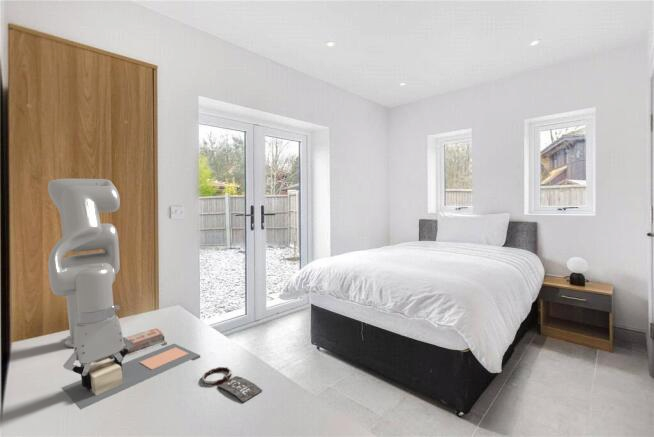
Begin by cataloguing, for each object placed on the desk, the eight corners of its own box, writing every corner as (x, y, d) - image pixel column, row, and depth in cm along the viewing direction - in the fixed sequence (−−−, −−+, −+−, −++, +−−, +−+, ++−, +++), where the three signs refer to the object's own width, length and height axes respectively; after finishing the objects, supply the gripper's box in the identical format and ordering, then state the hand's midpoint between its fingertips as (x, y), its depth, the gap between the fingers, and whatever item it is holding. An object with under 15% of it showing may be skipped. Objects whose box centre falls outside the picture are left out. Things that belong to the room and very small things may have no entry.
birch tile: (84, 384, 84) (82, 367, 84) (110, 373, 89) (108, 358, 88) (96, 395, 78) (94, 377, 78) (122, 383, 83) (121, 366, 83)
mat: (61, 389, 83) (61, 386, 83) (174, 345, 107) (174, 342, 107) (81, 411, 73) (80, 408, 73) (200, 357, 97) (200, 354, 97)
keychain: (238, 408, 72) (237, 400, 72) (196, 381, 84) (195, 374, 84) (264, 391, 78) (264, 383, 78) (222, 368, 90) (221, 362, 90)
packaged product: (156, 325, 114) (166, 331, 108) (157, 338, 115) (167, 345, 108) (96, 342, 101) (103, 351, 94) (97, 357, 102) (104, 367, 95)
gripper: (127, 303, 92) (132, 363, 93) (50, 323, 78) (57, 393, 79) (138, 307, 87) (144, 370, 88) (59, 329, 73) (66, 404, 74)
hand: (103, 381), depth 83 cm, fingers closed on birch tile, 6 cm apart
